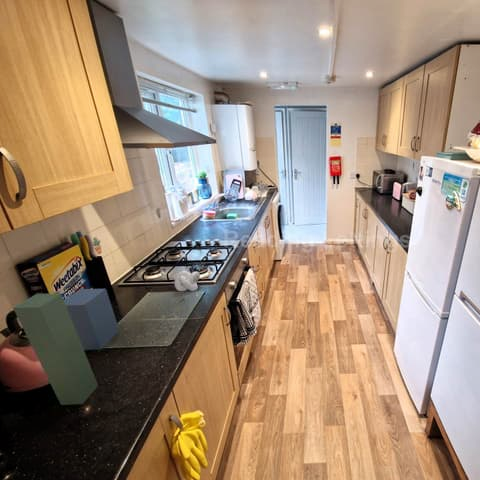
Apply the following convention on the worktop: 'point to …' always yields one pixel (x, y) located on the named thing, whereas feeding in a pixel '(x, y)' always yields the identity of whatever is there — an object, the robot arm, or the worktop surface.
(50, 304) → the green block
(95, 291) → the blue box
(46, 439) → the worktop surface
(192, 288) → the white knot
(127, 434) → the worktop surface
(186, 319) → the worktop surface
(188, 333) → the worktop surface
